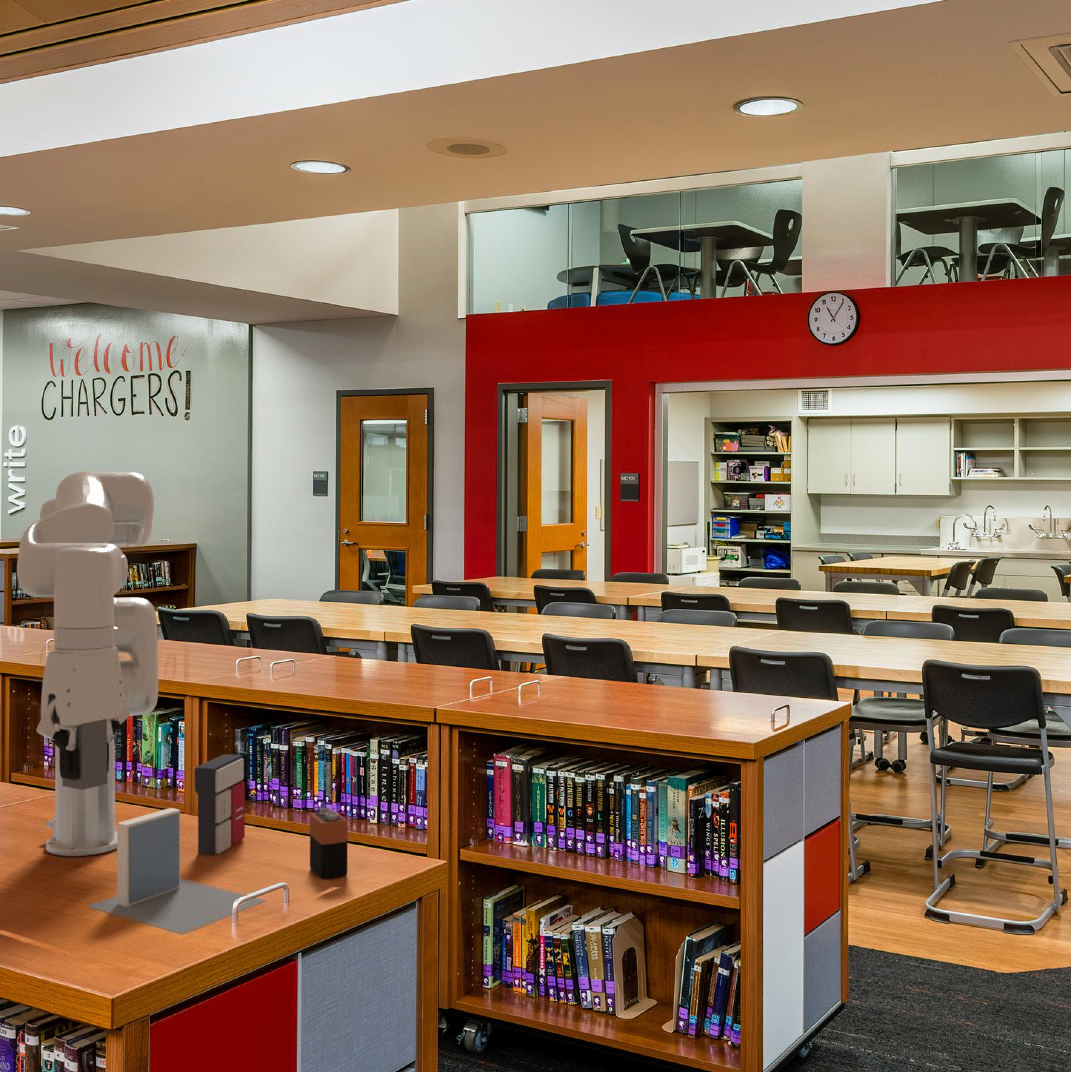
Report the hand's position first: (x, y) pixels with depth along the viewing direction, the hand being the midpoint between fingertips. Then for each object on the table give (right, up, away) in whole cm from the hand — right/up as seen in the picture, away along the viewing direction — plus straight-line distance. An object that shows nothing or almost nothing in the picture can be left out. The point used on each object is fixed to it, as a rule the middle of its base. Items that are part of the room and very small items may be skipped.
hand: (84, 773), depth 159 cm
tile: (+3, -22, +17) cm, 28 cm away
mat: (+8, -22, +14) cm, 28 cm away
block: (0, -2, 0) cm, 2 cm away
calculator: (+7, -22, +43) cm, 49 cm away
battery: (+27, -22, +31) cm, 47 cm away
